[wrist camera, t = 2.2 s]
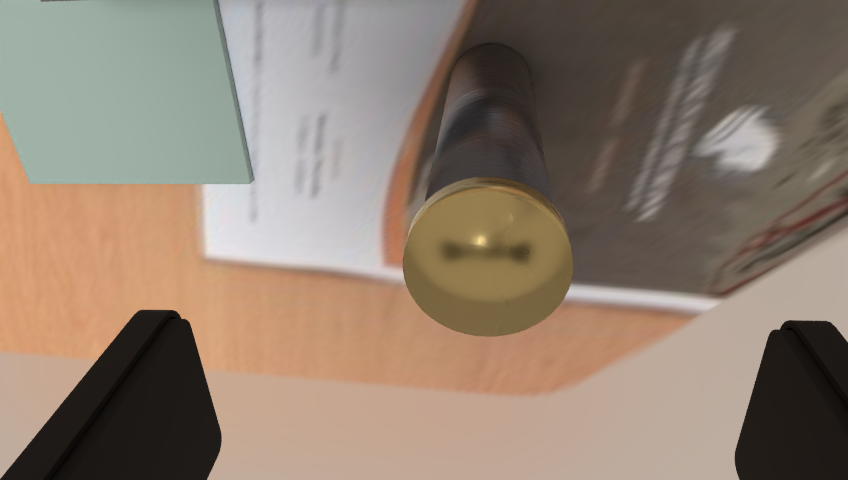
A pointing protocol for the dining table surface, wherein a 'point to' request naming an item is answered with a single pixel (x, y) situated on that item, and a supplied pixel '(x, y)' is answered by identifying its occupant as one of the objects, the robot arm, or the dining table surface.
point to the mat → (120, 92)
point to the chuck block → (57, 0)
